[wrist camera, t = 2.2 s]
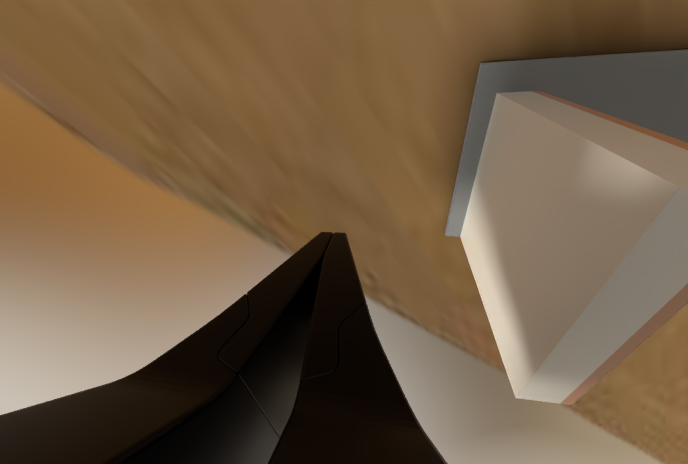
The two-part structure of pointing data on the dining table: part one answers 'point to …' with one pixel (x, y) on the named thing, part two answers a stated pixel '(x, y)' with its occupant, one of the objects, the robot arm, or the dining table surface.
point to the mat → (578, 100)
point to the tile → (575, 240)
